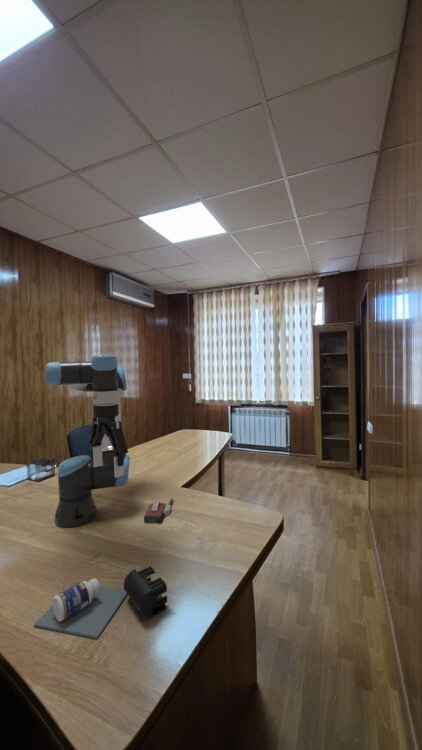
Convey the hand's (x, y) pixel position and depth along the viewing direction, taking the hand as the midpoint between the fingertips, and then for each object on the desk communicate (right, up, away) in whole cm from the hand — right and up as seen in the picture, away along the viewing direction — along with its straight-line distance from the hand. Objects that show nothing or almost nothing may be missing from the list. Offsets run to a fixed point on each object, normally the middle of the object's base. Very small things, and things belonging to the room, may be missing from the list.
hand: (108, 470), depth 98 cm
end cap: (+17, -26, -22) cm, 38 cm away
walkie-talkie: (+12, -25, +26) cm, 39 cm away
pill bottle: (-3, -23, -28) cm, 36 cm away
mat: (+2, -26, -23) cm, 35 cm away
